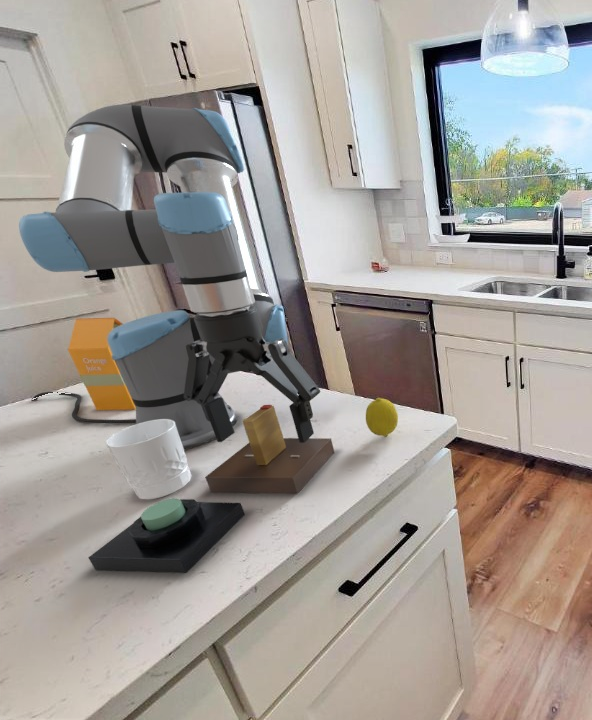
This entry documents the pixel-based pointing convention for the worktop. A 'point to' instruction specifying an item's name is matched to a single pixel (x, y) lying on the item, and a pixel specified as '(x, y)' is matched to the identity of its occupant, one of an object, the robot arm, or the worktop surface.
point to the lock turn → (264, 434)
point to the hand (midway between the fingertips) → (266, 437)
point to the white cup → (151, 458)
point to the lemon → (381, 417)
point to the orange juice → (99, 364)
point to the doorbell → (169, 540)
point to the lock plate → (272, 469)
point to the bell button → (163, 514)
